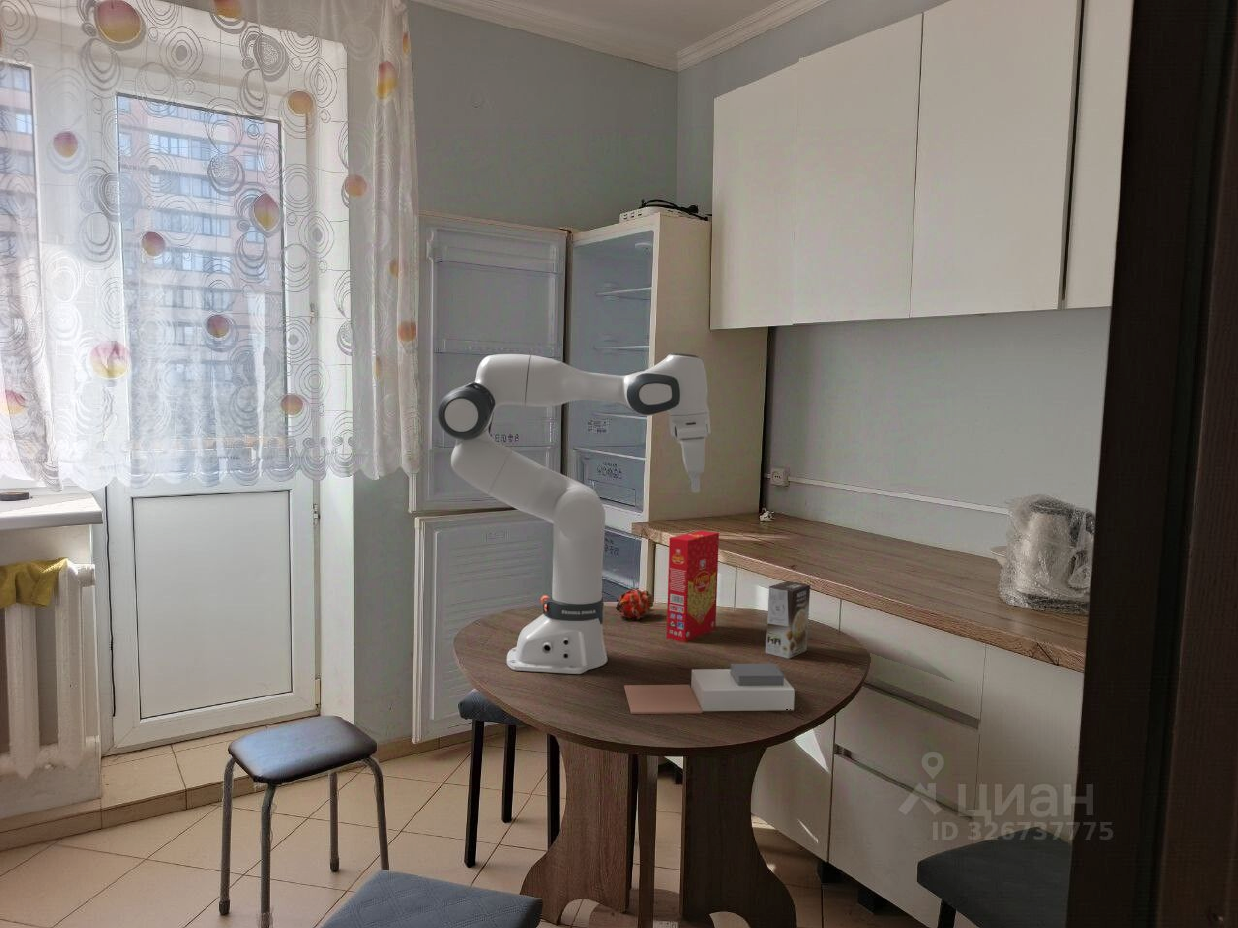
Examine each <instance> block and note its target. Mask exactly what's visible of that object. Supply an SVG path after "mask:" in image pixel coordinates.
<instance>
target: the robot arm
mask: <svg viewBox="0 0 1238 928" xmlns="http://www.w3.org/2000/svg"><path fill="white" fill-rule="evenodd" d="M707 379H708V378H707V372H706V368H705V364H704V362H703V359H701V357H699V356H697V355H696V354H689V353H682V352H681V353H679V352H673V353H669V354H668V355H667V356H666V357H665V358H664V359H662V360H661V361H660V362H658V363H656V364H655V365H653V366H652V367H650V368H647V369H641V370H636V371H633V372H630V373H627V374H623V375H622V374H621V375H619V374H618V375H617V374H608V373H607V374H606V373H598V372H589V371H585V370H580V369H578V368H575V367H573V366H570V365H569V364H567V363H566V362H563V361H559V360H557V359H553V358H549V357H544V356H540V355H534V354H526V353H525V354H524V353H523V354H521V353H501V354H500V353H497V354H492V355H491V354H490V355H487V356H485V357H483V359H482V360H481V361H480V362H479V364H478V366H477V369H476V375H475V380H474V381H471V382H469V383H467V384H465V385H462V386H460V387H456V388H454V389H452V390H450V391H449V392H447V394H446V395H445V396H444V397H442V399H441V401H440V403H439V404H438V407H437V420H438V422H439V423H438V424H439V425H440V427H441V429H442V430H443V432H444V433H446V434H447V435H448V436H450V437H451V438H453V439H455V444H454V445H455V446H454V448H453V450H452V452H451V455H450V466H451V469H452V471H453V472H454V473H455V474H456V475H457V476H458V477H460V478H461V479H462V480H464V481H465V482H466V483H468V484H470V485H471V486H473V487H474V488H475V489H477V490H479V491H481V492H483V493H484V494H487V495H489V496H490V497H492V498H494V499H496V500H498V501H500V502H502V503H504V504H506V505H508V506H510V507H512V508H514V509H516V510H518V511H519V512H523V513H526V514H529V515H531V516H535V517H537V518H538V519H539V518H540V519H542V520H544V521H546V522H548V523H551V524H553V536H552V538H553V539H552V541H553V542H552V543H553V547H552V548H553V549H552V551H553V552H552V584H551V585H552V587H551V590H552V592H551V593H552V595H551V596H550V597H549V596H548V595H542V597H541V598H540V603H541V605H542V614H541V615H540V616H538V617H537V618H536V619H534V620H533V621H531V622H530V623H528V624H527V625H526V626H525V627H523V629H522V630H521V631H520V633H519V636H518V639H517V643H516V646H514V647H513V648H511V649H509V651H507V655H506V665H507V666H508V667H509V668H510V669H511V670H513V671H520V672H521V671H523V672H540V673H555V674H572V675H573V674H574V675H581V674H583V673H586V672H587V671H588V670H593V669H596V668H599V667H601V666H604V665H605V664H607V662H608V656H607V651H606V648H605V642H604V641H605V640H604V633H603V622H604V617H605V615H604V614H605V604H604V598H603V595H602V593H603V561H604V551H605V550H604V547H605V535H606V534H605V532H606V530H605V529H606V511H605V508H604V505H603V502H602V500H601V499H600V496H599V494H598V493H597V492H596V491H595V490H594V489H593V488H591V487H589V486H587V485H585V484H583V483H581V482H580V481H577V480H575V479H573V478H570V477H569V476H566V475H564V474H562V473H560V472H557V471H556V470H552V469H550V468H548V467H546V466H544V465H542V464H539V463H538V462H536V461H534V460H532V459H530V458H529V457H526V456H525V455H522V454H520V453H519V452H517V451H515V450H513V449H511V448H509V447H507V446H505V445H503V444H501V443H500V442H498V441H496V440H495V439H493V437H492V436H491V429H492V424H493V421H494V420H493V419H494V411H495V410H496V409H497V408H498V407H500V406H503V405H504V406H505V405H514V406H521V407H535V408H537V407H538V408H539V407H540V408H542V407H545V408H547V407H557V406H562V405H563V404H566V403H570V402H574V401H582V400H583V401H596V402H605V403H615V404H617V405H622V406H624V407H626V408H627V409H629V410H630V411H632V412H634V413H636V414H638V415H641V416H644V417H645V416H646V417H648V416H655V415H657V414H660V413H662V412H666V411H667V412H668V416H669V417H668V418H669V419H668V420H669V430H670V436H671V437H674V438H676V443H677V444H680V448H681V451H682V453H681V454H682V461H683V465H684V468H685V471H686V474H687V475H688V483H689V486H690V487H691V493H694V494H695V493H700V492H701V487H700V485H701V474H703V473H704V471H705V462H706V461H705V459H706V458H705V457H706V452H705V451H706V438H707V437H708V435H709V434H711V431H712V430H711V419H710V409H709V406H708V402H707V398H708V392H709V391H708V380H707Z"/></svg>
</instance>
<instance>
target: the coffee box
mask: <svg viewBox="0 0 1238 928" xmlns="http://www.w3.org/2000/svg"><path fill="white" fill-rule="evenodd" d="M810 593H811V585H810V584H807V583H802V582H797V581H796V582H795V581H789V580H787V581H783V582H779V583H776V584H772V585H769V586H768V599H767V600H768V601H767V618H766V636H765V638H766V639H765V654H767V655H768V654H769V655H772V656H776V657H778V658H779V657H780V658H784V659H786V660H787V659H792V658H793V657H795V656H798V655H800V654H802V653H804V652H806V651H807V648H808V647H807V646H808V631H809V615H810V598H811V597H810V596H811V594H810Z"/></svg>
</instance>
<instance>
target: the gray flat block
mask: <svg viewBox="0 0 1238 928" xmlns="http://www.w3.org/2000/svg"><path fill="white" fill-rule="evenodd" d="M776 665H777V664H776V663H730V669H731V670H730V674H731V675H732V677H733V678H734V680H735V681H736V683H737V684H738V686H782V685H784V678H785V675H784V674H783V673H782V671H781V670H780V669H779V668H778V666H776Z"/></svg>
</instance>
